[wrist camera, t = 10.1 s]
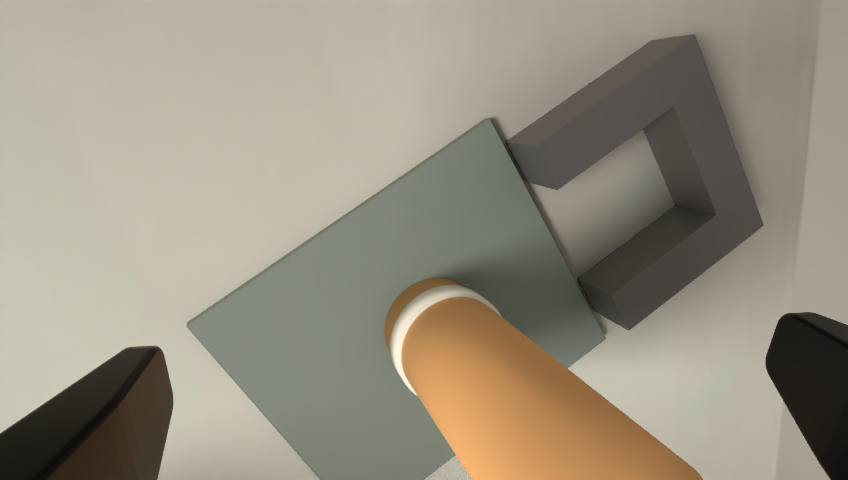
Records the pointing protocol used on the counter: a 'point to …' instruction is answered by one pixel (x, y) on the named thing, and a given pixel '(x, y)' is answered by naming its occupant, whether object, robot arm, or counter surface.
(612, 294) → the dark grey piece
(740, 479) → the counter surface
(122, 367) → the robot arm
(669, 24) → the counter surface
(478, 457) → the orange peg
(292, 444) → the mat
